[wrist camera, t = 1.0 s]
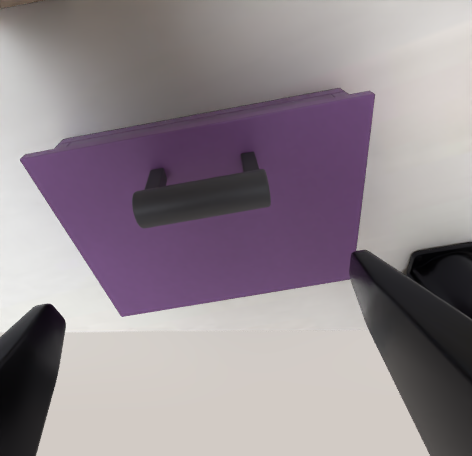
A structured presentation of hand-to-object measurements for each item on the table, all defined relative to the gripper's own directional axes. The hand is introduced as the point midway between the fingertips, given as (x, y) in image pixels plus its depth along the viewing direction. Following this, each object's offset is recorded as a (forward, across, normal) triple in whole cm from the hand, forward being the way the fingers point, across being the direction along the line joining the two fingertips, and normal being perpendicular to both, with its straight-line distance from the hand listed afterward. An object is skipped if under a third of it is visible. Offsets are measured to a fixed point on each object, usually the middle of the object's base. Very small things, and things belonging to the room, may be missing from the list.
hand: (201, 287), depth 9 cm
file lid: (+8, 0, +4) cm, 9 cm away
